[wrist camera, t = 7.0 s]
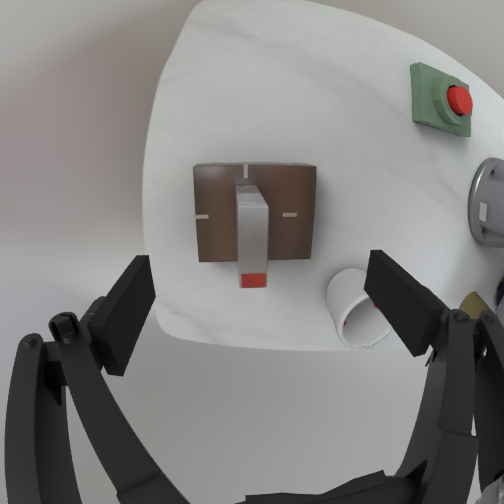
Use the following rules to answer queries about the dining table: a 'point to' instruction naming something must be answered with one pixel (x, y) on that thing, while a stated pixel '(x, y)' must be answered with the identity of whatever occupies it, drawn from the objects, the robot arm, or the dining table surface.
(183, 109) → the dining table surface
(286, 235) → the tap panel
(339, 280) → the cup
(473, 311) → the pepper shaker
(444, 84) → the button box
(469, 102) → the button
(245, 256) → the gray rectangular block
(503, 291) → the canister
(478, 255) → the dining table surface
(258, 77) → the dining table surface
